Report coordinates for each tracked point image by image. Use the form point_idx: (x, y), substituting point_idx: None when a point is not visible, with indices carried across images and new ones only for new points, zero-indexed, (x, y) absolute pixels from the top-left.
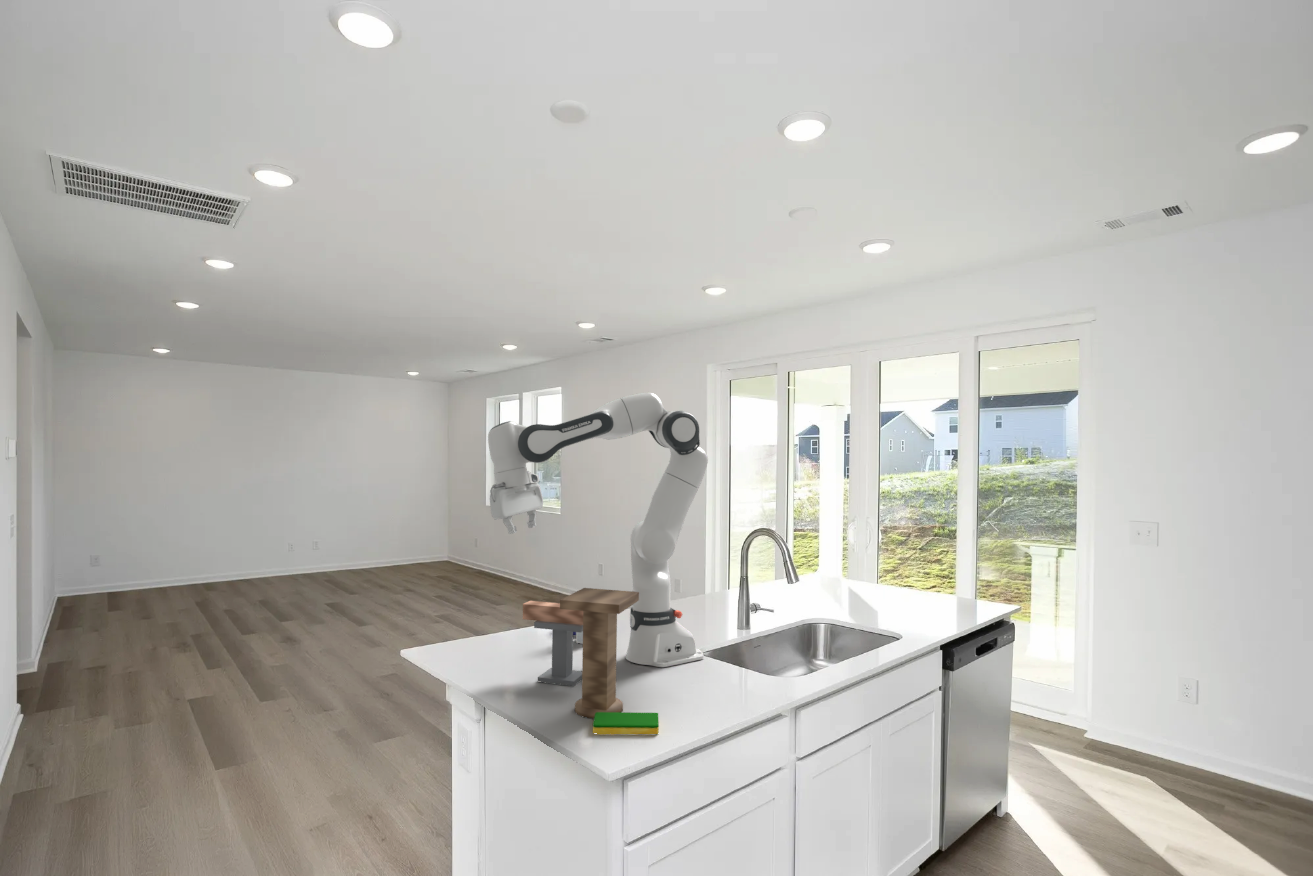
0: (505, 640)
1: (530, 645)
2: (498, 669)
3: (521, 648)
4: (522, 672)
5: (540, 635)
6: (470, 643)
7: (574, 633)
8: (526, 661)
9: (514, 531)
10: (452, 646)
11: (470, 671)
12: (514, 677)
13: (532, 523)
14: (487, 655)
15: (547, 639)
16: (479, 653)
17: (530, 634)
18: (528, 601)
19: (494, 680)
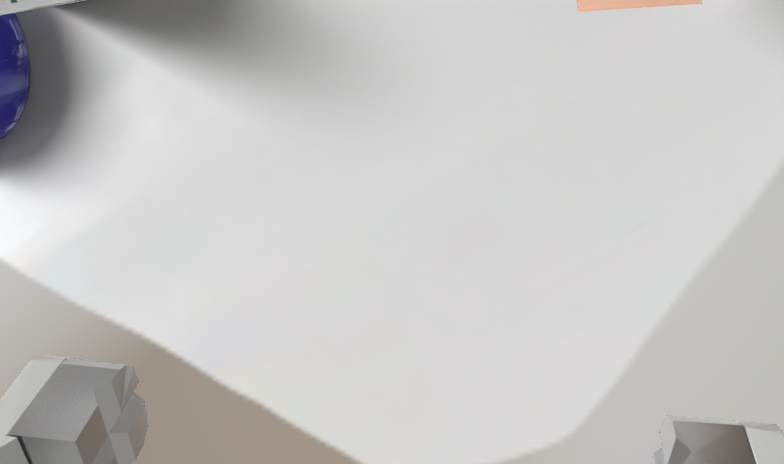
0: (231, 296)
1: (239, 170)
2: (578, 129)
3: (291, 184)
4: None
5: (106, 200)
6: (326, 395)
7: (23, 63)
8: (436, 72)
9: (760, 433)
10: (386, 435)
11: (640, 222)
12: None
13: (98, 411)
14: (430, 264)
15: (136, 145)
16: (420, 305)
17: (116, 244)
18: (607, 8)
19: (720, 66)
